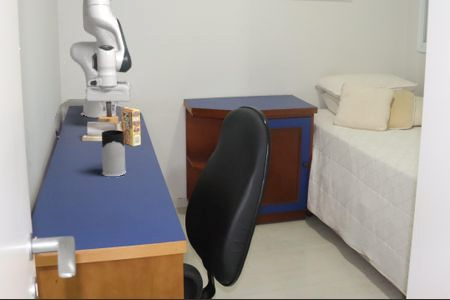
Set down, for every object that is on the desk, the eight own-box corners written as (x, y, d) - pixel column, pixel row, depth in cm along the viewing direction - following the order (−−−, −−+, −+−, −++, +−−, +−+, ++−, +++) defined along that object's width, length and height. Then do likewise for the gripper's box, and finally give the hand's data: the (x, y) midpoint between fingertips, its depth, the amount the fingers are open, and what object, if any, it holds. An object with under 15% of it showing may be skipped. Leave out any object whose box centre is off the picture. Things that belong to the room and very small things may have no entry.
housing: (99, 131, 244) (99, 118, 242) (110, 132, 244) (110, 119, 242) (97, 134, 240) (97, 121, 238) (109, 134, 240) (108, 121, 238)
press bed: (94, 128, 257) (93, 113, 255) (127, 129, 257) (127, 113, 255) (82, 140, 234) (81, 124, 232) (118, 141, 234) (118, 124, 232)
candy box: (141, 145, 229) (140, 109, 225) (133, 146, 226) (132, 110, 222) (129, 141, 235) (128, 106, 231) (121, 142, 232) (120, 107, 228)
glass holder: (102, 178, 184) (100, 136, 180) (100, 166, 197) (98, 127, 193) (128, 176, 186) (126, 134, 182) (124, 165, 199) (122, 125, 196)
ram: (101, 126, 255) (100, 101, 252) (118, 126, 255) (117, 101, 252) (99, 128, 249) (98, 103, 246) (116, 129, 249) (115, 103, 246)
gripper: (131, 80, 251) (132, 109, 254) (87, 80, 250) (89, 109, 254) (129, 82, 245) (130, 112, 248) (84, 82, 244) (85, 111, 248)
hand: (108, 110), depth 251 cm, fingers open, 3 cm apart
